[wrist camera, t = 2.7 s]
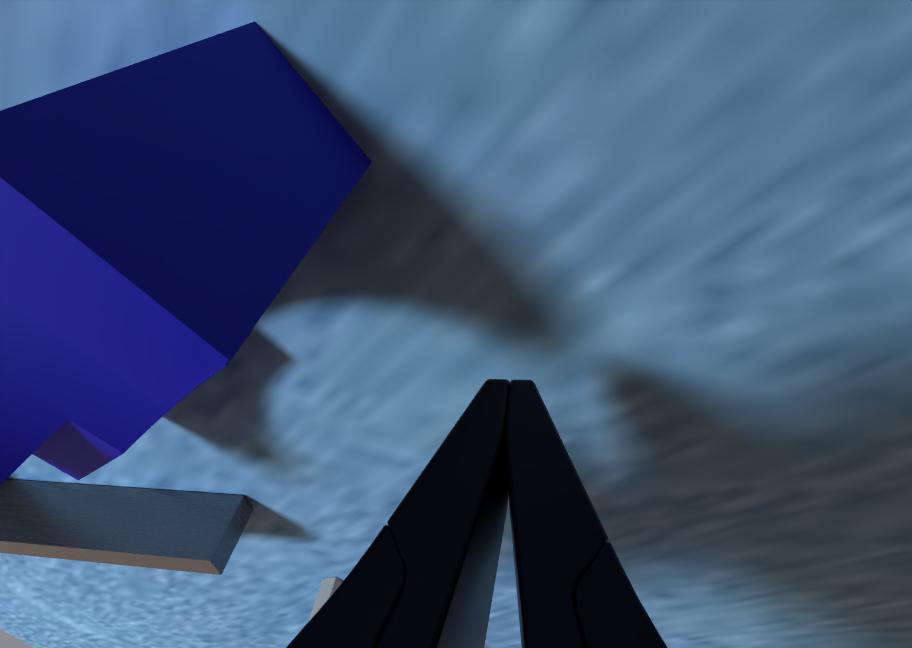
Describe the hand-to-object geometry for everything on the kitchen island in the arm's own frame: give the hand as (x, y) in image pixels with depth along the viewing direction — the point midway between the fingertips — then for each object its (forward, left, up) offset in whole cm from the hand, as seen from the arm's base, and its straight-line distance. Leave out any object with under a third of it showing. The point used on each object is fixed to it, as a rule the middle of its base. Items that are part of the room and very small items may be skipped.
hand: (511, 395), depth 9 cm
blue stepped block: (+8, -1, -4) cm, 9 cm away
